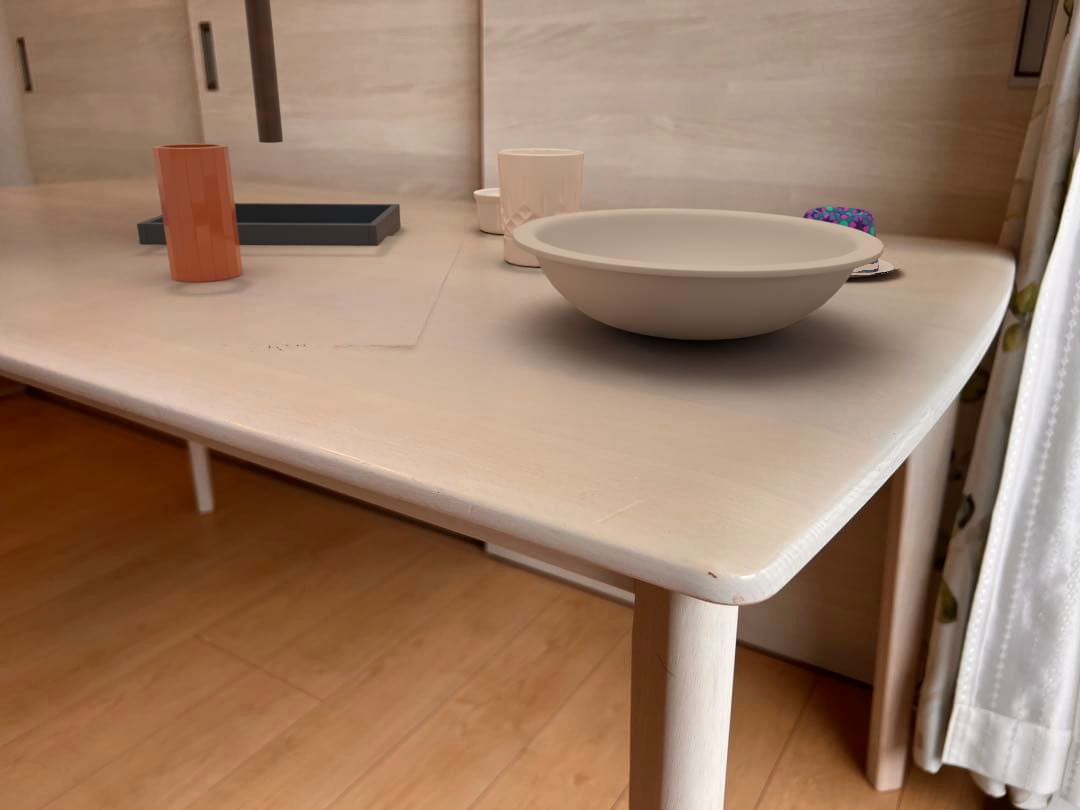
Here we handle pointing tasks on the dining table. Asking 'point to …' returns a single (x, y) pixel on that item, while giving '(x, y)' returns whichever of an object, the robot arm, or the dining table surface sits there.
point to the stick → (264, 70)
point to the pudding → (853, 220)
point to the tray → (300, 224)
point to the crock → (198, 211)
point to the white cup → (536, 191)
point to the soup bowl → (695, 267)
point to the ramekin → (489, 210)
